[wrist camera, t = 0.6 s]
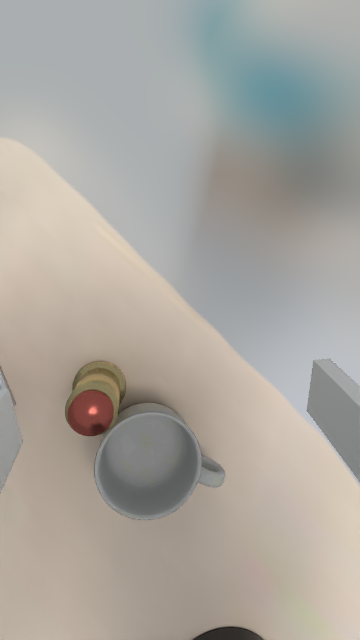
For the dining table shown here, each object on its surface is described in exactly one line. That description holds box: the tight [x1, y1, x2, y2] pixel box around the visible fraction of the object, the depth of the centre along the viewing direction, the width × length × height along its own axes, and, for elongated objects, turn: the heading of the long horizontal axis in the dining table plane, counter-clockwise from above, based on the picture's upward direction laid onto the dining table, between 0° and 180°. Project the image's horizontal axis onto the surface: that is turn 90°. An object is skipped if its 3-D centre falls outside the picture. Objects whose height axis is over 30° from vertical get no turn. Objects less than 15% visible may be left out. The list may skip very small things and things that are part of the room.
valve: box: [65, 361, 126, 436], centre depth 35 cm, size 6×6×10 cm
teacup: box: [94, 403, 225, 520], centre depth 38 cm, size 14×11×8 cm
